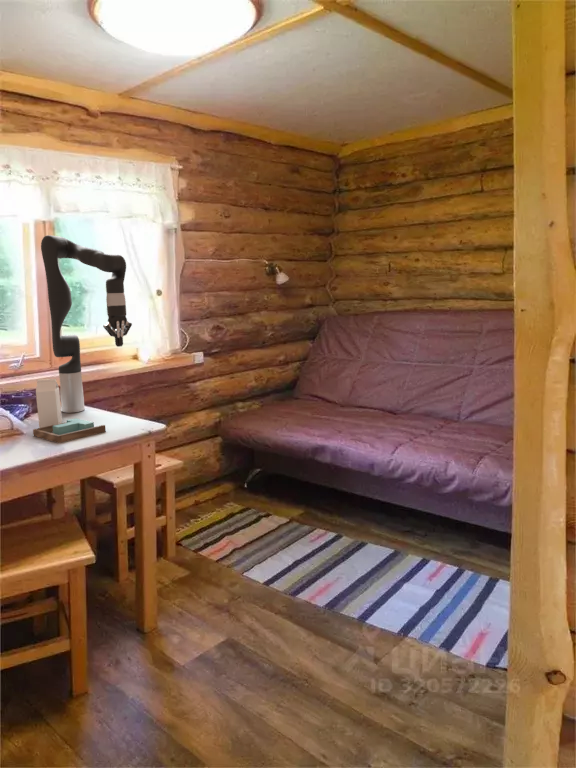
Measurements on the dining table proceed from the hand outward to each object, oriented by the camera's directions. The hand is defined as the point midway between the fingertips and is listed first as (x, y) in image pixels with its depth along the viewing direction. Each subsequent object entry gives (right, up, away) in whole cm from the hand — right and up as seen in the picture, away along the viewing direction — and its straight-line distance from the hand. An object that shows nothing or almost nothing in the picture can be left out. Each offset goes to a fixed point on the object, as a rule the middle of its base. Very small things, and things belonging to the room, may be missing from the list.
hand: (119, 346), depth 250 cm
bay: (-11, -34, -25) cm, 44 cm away
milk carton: (-23, -33, -14) cm, 42 cm away
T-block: (-11, -34, -25) cm, 44 cm away
